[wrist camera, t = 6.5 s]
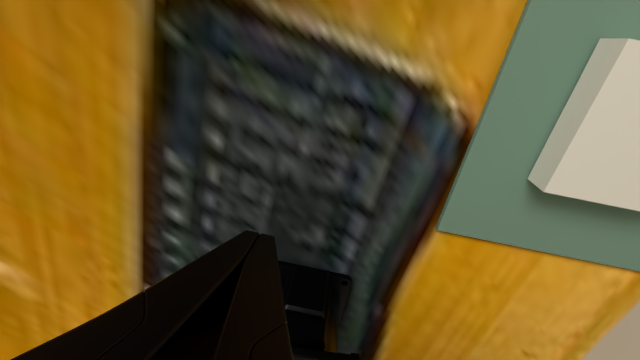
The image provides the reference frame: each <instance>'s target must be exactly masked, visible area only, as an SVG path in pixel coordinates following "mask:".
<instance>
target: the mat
mask: <svg viewBox="0 0 640 360" xmlns="http://www.w3.org/2000/svg"><path fill="white" fill-rule="evenodd" d="M600 38H629V39H634V40H640V0H528V1H527V3H526V6H525V8H524V11H523V13H522V16H521V18H520V21H519V23H518V25H517V28H516V30H515V33H514V35H513V38H512V40H511V43H510V45H509V48H508V50H507V53H506V55H505V58H504V60H503V62H502V65H501V67H500V70H499V72H498V75H497V77H496V80H495V82H494V85H493V87H492V90H491V92H490V95H489V97H488V99H487V102H486V104H485V107H484V109H483V112H482V114H481V117H480V119H479V122H478V124H477V127H476V129H475V132H474V134H473V136H472V139H471V141H470V144H469V146H468V149H467V151H466V154H465V156H464V159H463V161H462V164H461V166H460V169H459V171H458V174H457V176H456V178H455V181H454V183H453V186H452V188H451V191H450V193H449V196H448V198H447V201H446V203H445V206H444V208H443V211H442V213H441V215H440V218H439V220H438V223H437V225H436V229H437V230H438V231H443V232H448V233H453V234H458V235H463V236H468V237H473V238H477V239H482V240H487V241H492V242H497V243H502V244H507V245H512V246H517V247H522V248H526V249H531V250H536V251H541V252H546V253H551V254H556V255H561V256H566V257H571V258H575V259H580V260H585V261H590V262H595V263H600V264H605V265H610V266H615V267H620V268H625V269H629V270H634V271H639V272H640V211H636V210H631V209H626V208H621V207H616V206H611V205H606V204H601V203H596V202H591V201H586V200H581V199H576V198H571V197H566V196H561V195H556V194H551V193H546V192H543V191H542V190H540V189H539V188H538V187H537V186H536V185H534V184H533V183H532V182H531V181H529V180H528V177H529V175H530V173H531V171H532V169H533V167H534V165H535V163H536V161H537V159H538V157H539V156H540V154H541V152H542V150H543V148H544V146H545V144H546V142H547V140H548V138H549V136H550V134H551V132H552V130H553V129H554V127H555V125H556V123H557V121H558V119H559V117H560V115H561V113H562V111H563V109H564V107H565V105H566V103H567V102H568V100H569V98H570V96H571V94H572V92H573V90H574V88H575V86H576V84H577V82H578V80H579V78H580V77H581V75H582V73H583V71H584V69H585V67H586V65H587V63H588V61H589V59H590V57H591V55H592V53H593V51H594V50H595V48H596V46H597V44H598V42H599V40H600Z"/></svg>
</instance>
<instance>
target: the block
mask: <svg viewBox="0 0 640 360" xmlns="http://www.w3.org/2000/svg"><path fill="white" fill-rule="evenodd" d="M528 180H529V181H531V182H532V183H533V184H534V185H536V186H537V187H538V188H539V189H540V190H542V191H543V192H546V193H551V194H556V195H561V196H566V197H571V198H576V199H581V200H586V201H591V202H596V203H601V204H606V205H611V206H616V207H621V208H626V209H631V210H636V211H640V40H634V39H629V38H600V40H599V42H598V44H597V46H596V48H595V50H594V51H593V53H592V55H591V57H590V59H589V61H588V63H587V65H586V67H585V69H584V71H583V73H582V75H581V77H580V78H579V80H578V82H577V84H576V86H575V88H574V90H573V92H572V94H571V96H570V98H569V100H568V102H567V103H566V105H565V107H564V109H563V111H562V113H561V115H560V117H559V119H558V121H557V123H556V125H555V127H554V129H553V130H552V132H551V134H550V136H549V138H548V140H547V142H546V144H545V146H544V148H543V150H542V152H541V154H540V156H539V157H538V159H537V161H536V163H535V165H534V167H533V169H532V171H531V173H530V175H529V177H528Z"/></svg>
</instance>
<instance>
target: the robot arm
mask: <svg viewBox="0 0 640 360" xmlns="http://www.w3.org/2000/svg"><path fill="white" fill-rule="evenodd" d="M343 281H347V282H343ZM350 287H351V278H350V277H349V276H348V275H344V274H339V273H334V272H329V271H325V270H320V269H315V268H310V267H305V266H301V265H296V264H291V263H286V262H281V261H278V258H277V251H276V244H275V238H274V236H271V235H266V234H259V233H257V232H253V231H248V230H247V231H244V232H242V233H241V234H239V235H237V236H236V237H234V238H232V239H230V240H229V241H227V242H225V243H224V244H222V245H220V246H219V247H217V248H215V249H213V250H212V251H210V252H208V253H207V254H205V255H203V256H202V257H200V258H198V259H196V260H195V261H193V262H191V263H190V264H188V265H186V266H185V267H183V268H181V269H180V270H178V271H176V272H174V273H173V274H171V275H169V276H168V277H166V278H164V279H163V280H161V281H159V282H157V283H156V284H154V285H152V286H151V287H149V288H147V289H146V290H145V291H144V292H140V293H139V294H137V295H135V296H133V297H132V298H130V299H128V300H127V301H125V302H123V303H121V304H119V305H118V306H116V307H114V308H112V309H111V310H109V311H107V312H105V313H103V314H101V315H99V316H98V317H96V318H94V319H92V320H90V321H88V322H86V323H84V324H82V325H80V326H78V327H76V328H74V329H72V330H70V331H68V332H66V333H64V334H62V335H60V336H58V337H56V338H54V339H52V340H50V341H48V342H46V343H43V344H41V345H39V346H37V347H35V348H33V349H31V350H29V351H27V352H25V353H23V354H21V355H19V356H17V357H15V358H13V359H11V360H359V354H356V353H351V354H343V353H337V343H338V328H339V325H340V321H341V318H342V314H343V311H344V307H345V304H346V300H347V297H348V294H349V290H350Z"/></svg>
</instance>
